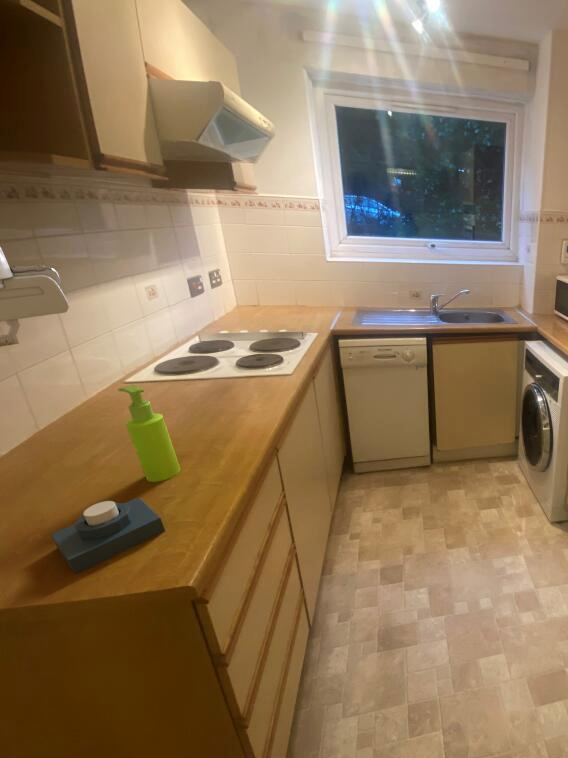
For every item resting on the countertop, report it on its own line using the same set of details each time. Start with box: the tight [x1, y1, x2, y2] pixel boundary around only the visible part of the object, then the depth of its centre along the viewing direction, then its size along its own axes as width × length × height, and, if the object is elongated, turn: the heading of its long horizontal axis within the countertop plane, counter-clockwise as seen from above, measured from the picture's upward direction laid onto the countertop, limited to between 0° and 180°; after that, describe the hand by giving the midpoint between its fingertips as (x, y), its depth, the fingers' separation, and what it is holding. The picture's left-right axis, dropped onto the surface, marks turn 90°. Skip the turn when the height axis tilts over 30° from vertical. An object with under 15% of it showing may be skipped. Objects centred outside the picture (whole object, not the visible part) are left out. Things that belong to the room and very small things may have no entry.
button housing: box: [50, 497, 166, 575], centre depth 74 cm, size 12×10×5 cm
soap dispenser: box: [117, 385, 181, 483], centre depth 89 cm, size 6×7×20 cm
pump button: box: [82, 500, 119, 526], centre depth 73 cm, size 4×4×2 cm
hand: (7, 345), depth 81 cm, fingers closed
